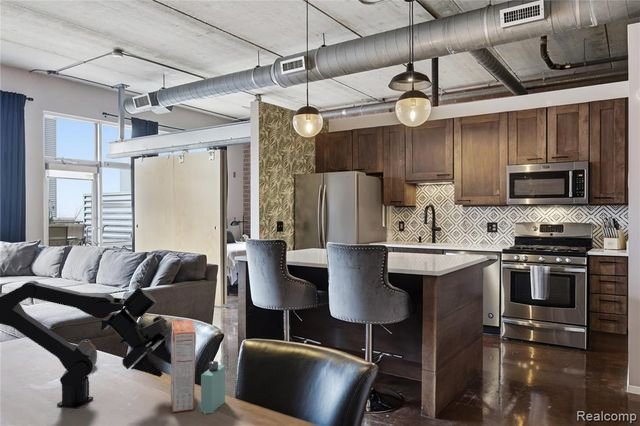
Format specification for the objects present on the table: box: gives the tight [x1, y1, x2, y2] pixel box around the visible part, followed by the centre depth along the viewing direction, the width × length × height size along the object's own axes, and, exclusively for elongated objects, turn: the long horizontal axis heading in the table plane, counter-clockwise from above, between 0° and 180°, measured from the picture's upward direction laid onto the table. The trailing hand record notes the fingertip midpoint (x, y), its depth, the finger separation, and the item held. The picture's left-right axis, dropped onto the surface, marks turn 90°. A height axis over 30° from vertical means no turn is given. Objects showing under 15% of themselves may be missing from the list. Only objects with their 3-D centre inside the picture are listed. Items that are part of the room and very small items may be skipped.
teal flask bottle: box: [200, 360, 226, 414], centre depth 126 cm, size 8×3×12 cm, turn 166°
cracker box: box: [170, 319, 197, 413], centre depth 129 cm, size 14×6×21 cm, turn 19°
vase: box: [81, 339, 98, 358], centre depth 157 cm, size 7×7×9 cm
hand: (167, 369), depth 131 cm, fingers open, 9 cm apart
